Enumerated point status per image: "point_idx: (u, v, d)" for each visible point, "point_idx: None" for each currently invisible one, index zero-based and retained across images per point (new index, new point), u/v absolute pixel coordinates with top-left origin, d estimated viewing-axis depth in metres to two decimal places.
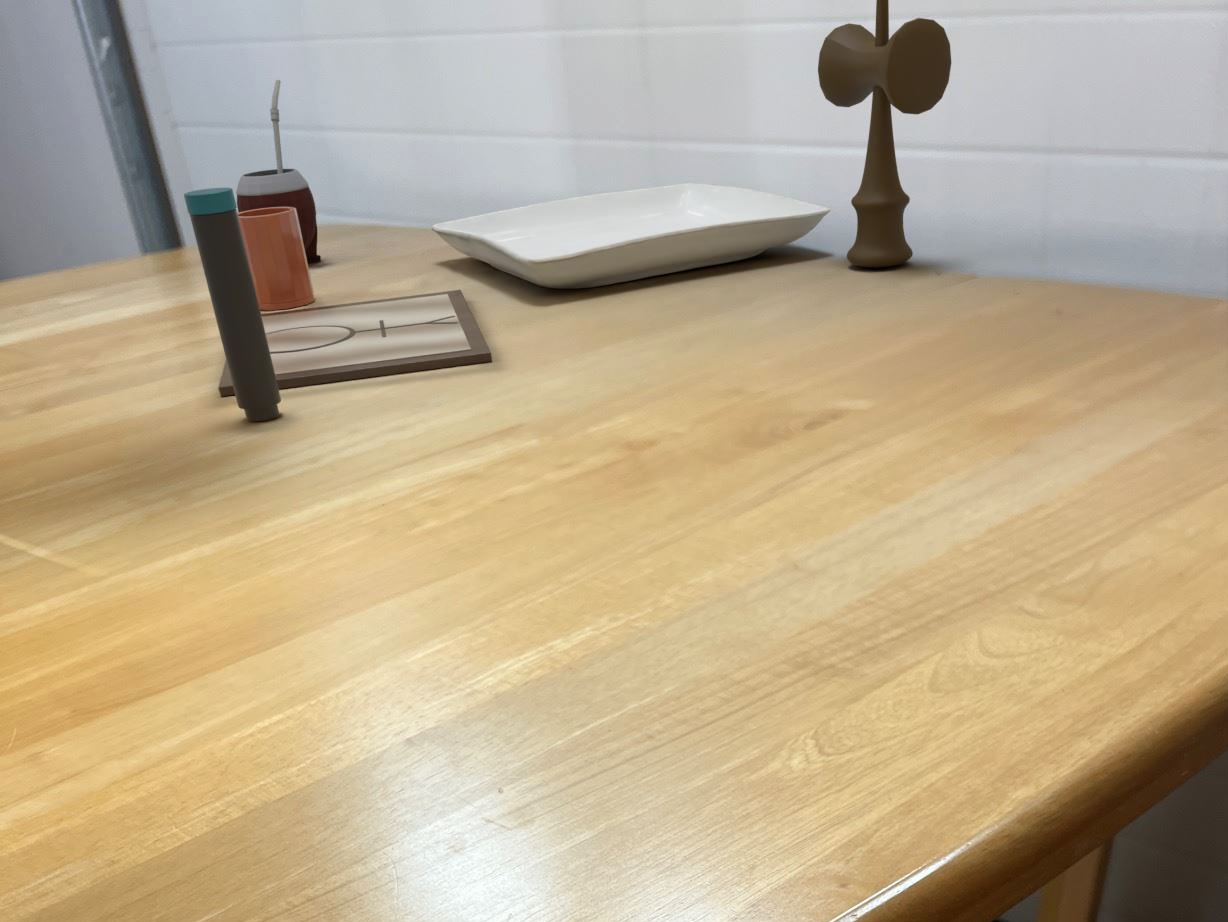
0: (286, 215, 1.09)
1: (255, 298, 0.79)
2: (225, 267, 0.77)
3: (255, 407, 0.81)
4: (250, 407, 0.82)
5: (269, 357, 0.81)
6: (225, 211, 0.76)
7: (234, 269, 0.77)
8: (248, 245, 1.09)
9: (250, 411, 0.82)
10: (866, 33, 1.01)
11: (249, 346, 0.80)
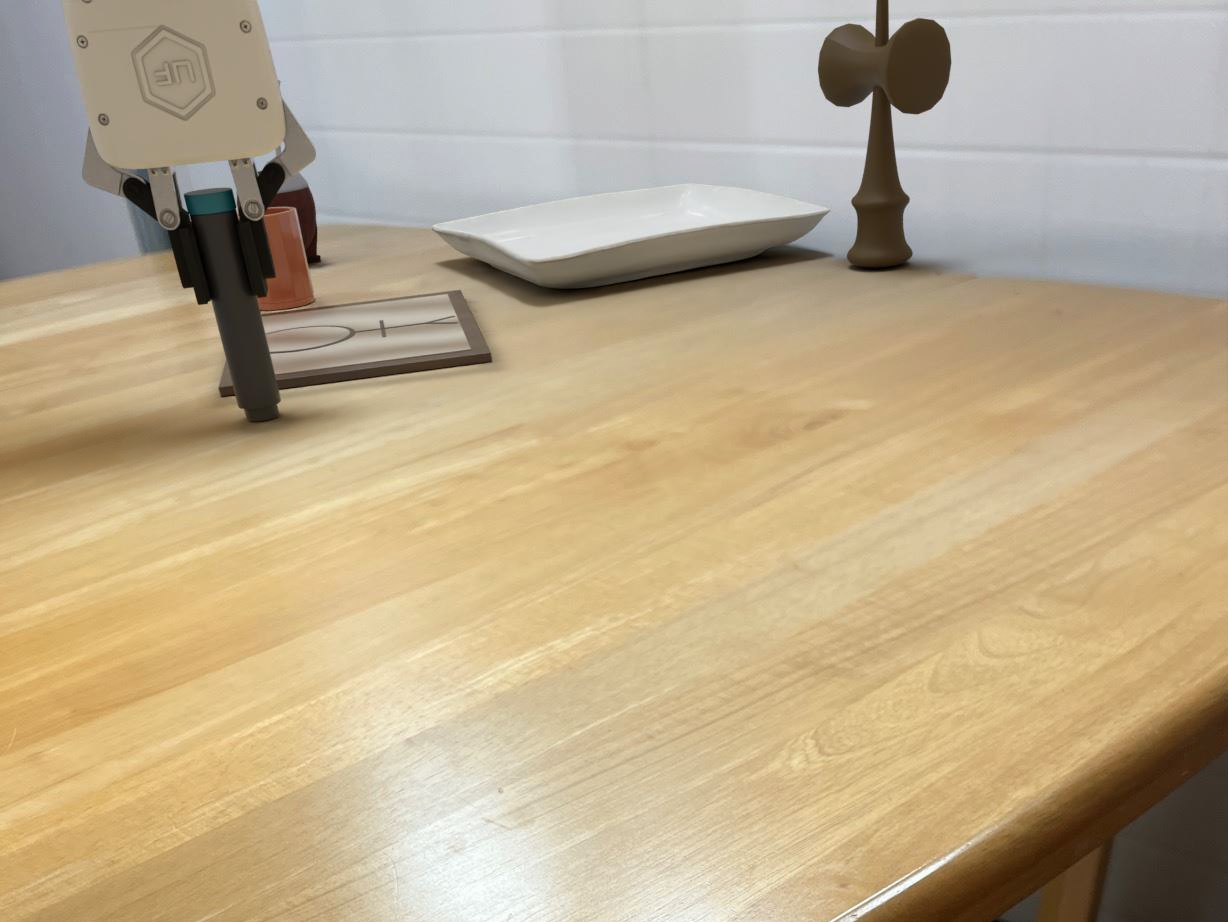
0: (286, 215, 1.09)
1: (255, 298, 0.79)
2: (224, 267, 0.77)
3: (255, 407, 0.81)
4: (250, 407, 0.82)
5: (269, 357, 0.81)
6: (225, 211, 0.76)
7: (234, 269, 0.77)
8: None
9: (250, 411, 0.82)
10: (866, 33, 1.01)
11: (249, 346, 0.80)
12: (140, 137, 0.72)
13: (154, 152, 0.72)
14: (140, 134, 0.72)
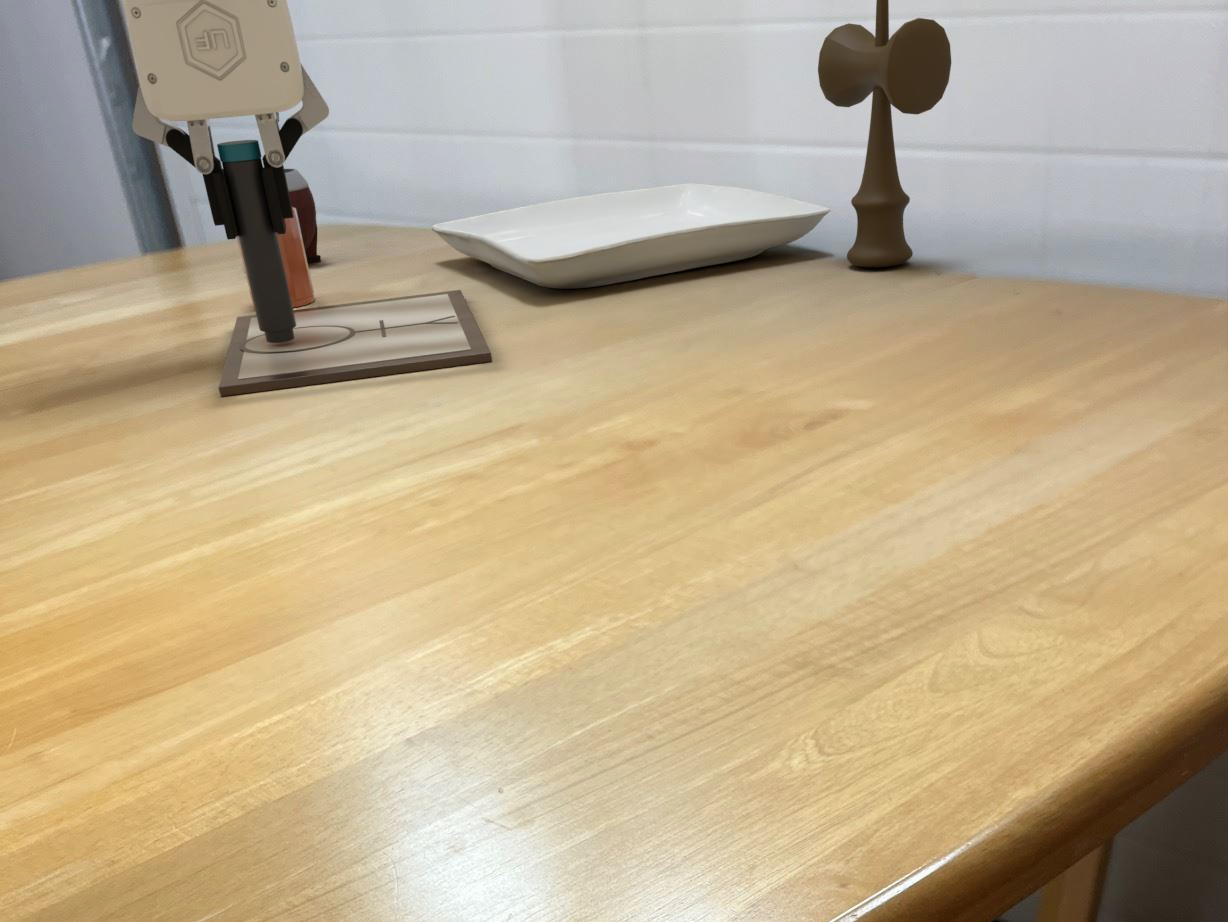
0: None
1: (276, 235, 0.93)
2: (250, 207, 0.91)
3: (274, 330, 0.95)
4: (270, 330, 0.95)
5: (287, 287, 0.95)
6: (252, 159, 0.90)
7: (259, 209, 0.91)
8: None
9: (270, 333, 0.96)
10: (866, 33, 1.01)
11: (270, 276, 0.93)
12: (182, 94, 0.85)
13: (194, 107, 0.86)
14: (182, 91, 0.85)
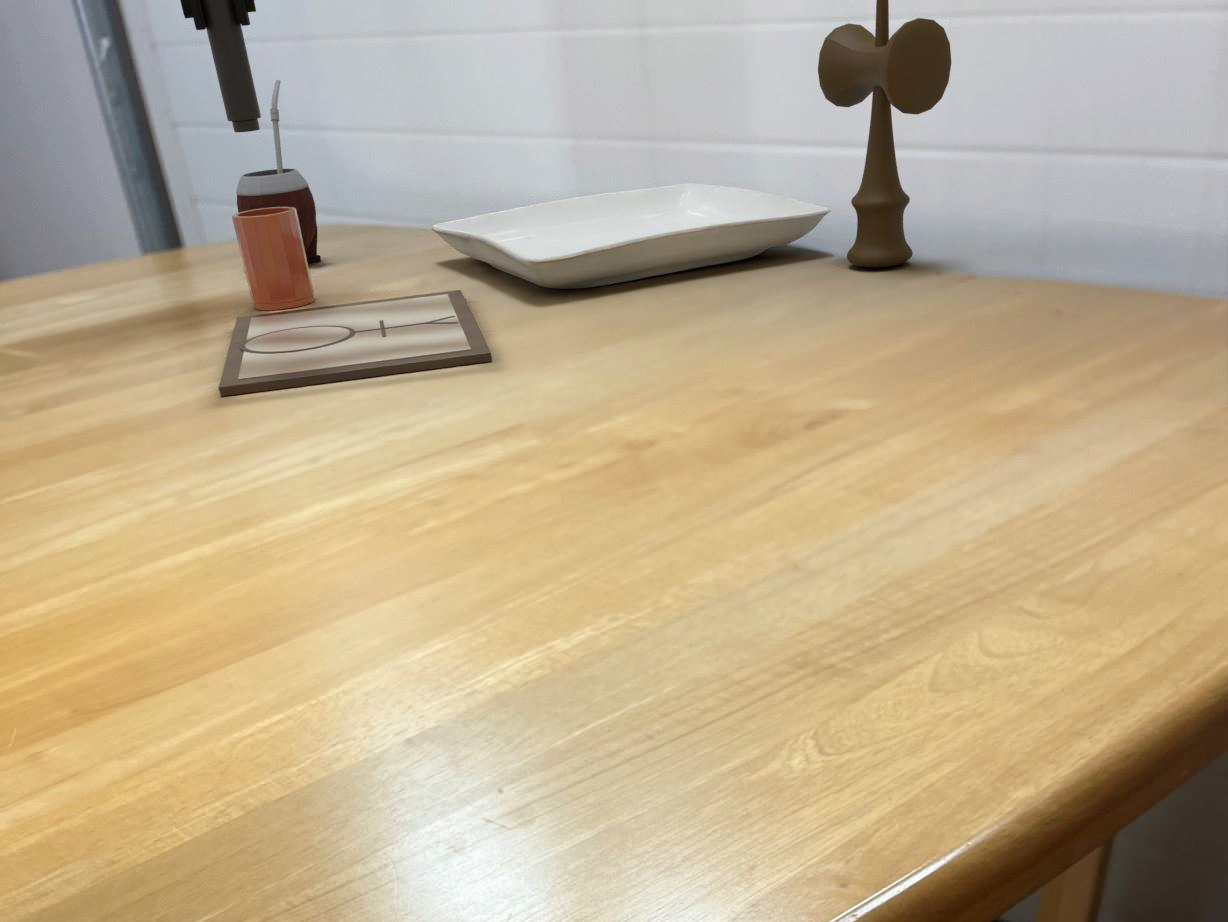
0: (286, 215, 1.09)
1: (240, 28, 1.03)
2: None
3: (240, 119, 1.05)
4: (237, 119, 1.05)
5: (251, 78, 1.05)
6: None
7: (224, 0, 1.01)
8: (248, 245, 1.09)
9: (237, 123, 1.06)
10: (866, 33, 1.01)
11: (236, 66, 1.03)
12: None
13: None
14: None
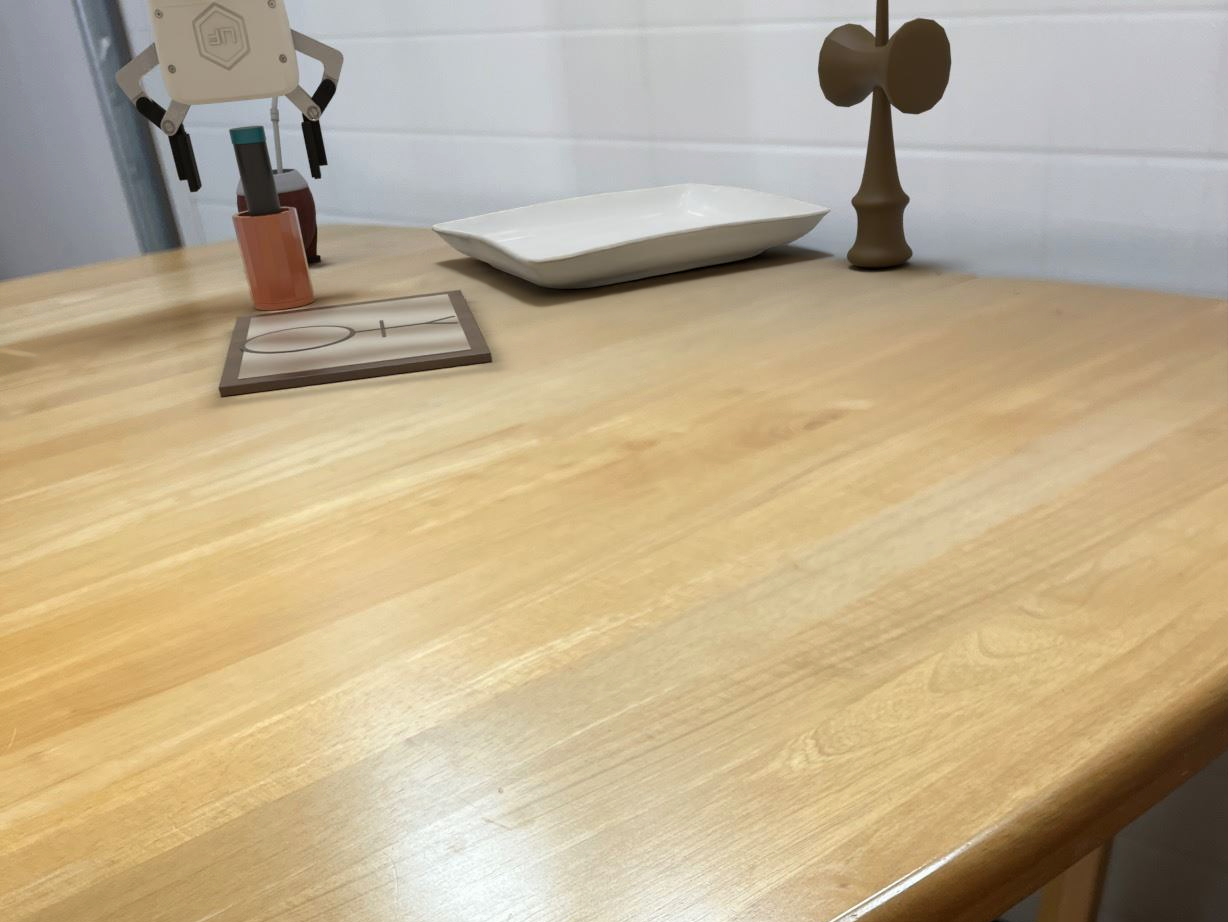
0: (286, 215, 1.09)
1: (279, 206, 1.10)
2: (257, 183, 1.08)
3: None
4: None
5: None
6: (258, 142, 1.06)
7: (264, 184, 1.08)
8: (248, 245, 1.09)
9: None
10: (866, 33, 1.01)
11: None
12: (197, 81, 1.02)
13: (207, 92, 1.02)
14: (197, 79, 1.02)
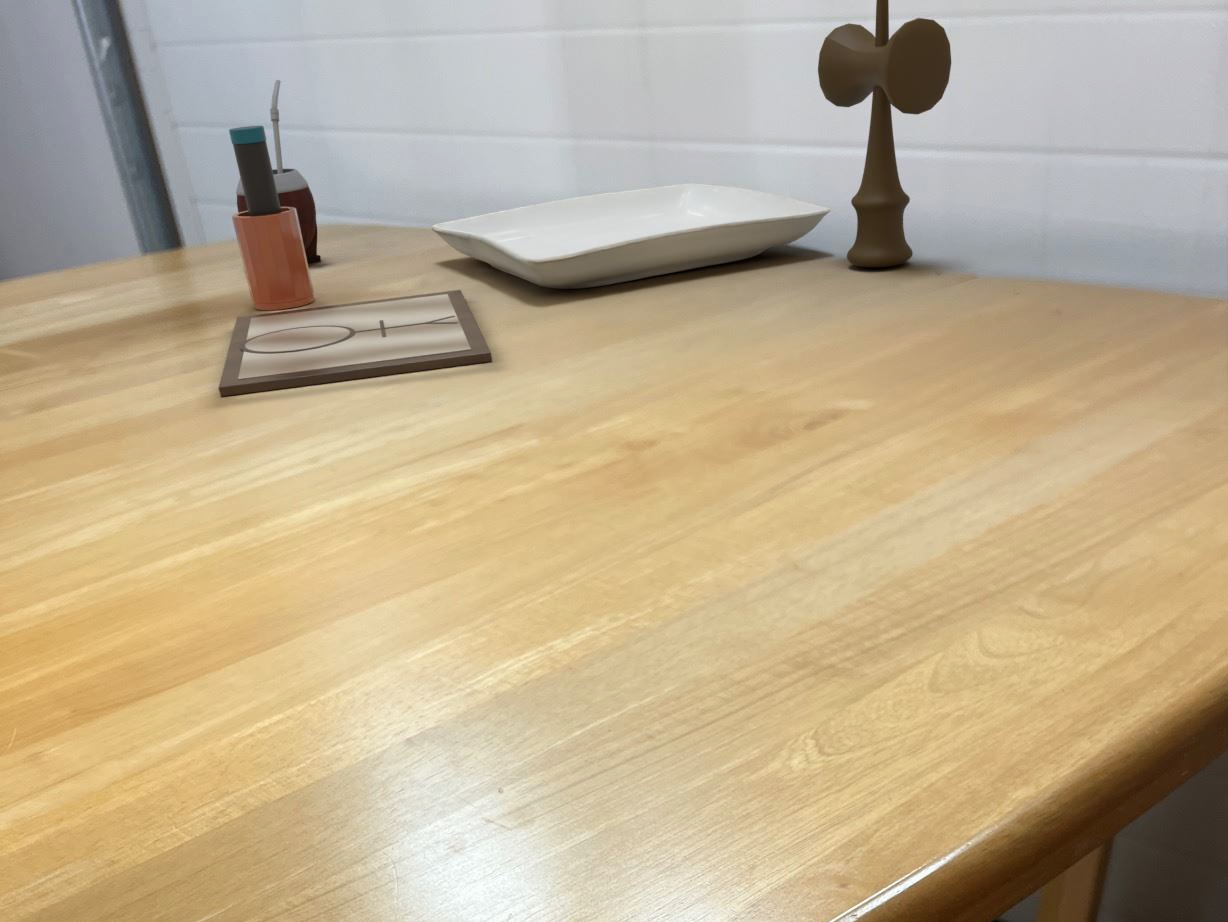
0: (286, 215, 1.09)
1: (279, 206, 1.10)
2: (257, 183, 1.08)
3: None
4: None
5: None
6: (258, 142, 1.06)
7: (264, 184, 1.08)
8: (248, 245, 1.09)
9: None
10: (866, 33, 1.01)
11: None
12: None
13: None
14: None
